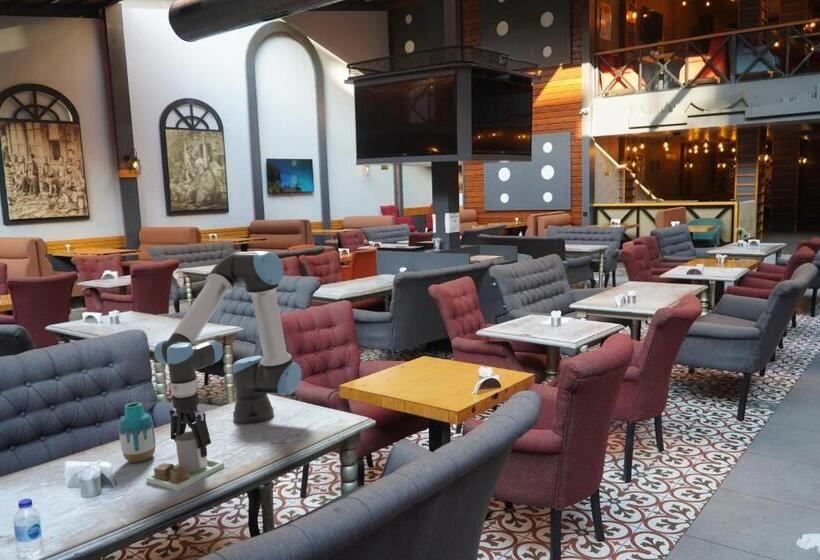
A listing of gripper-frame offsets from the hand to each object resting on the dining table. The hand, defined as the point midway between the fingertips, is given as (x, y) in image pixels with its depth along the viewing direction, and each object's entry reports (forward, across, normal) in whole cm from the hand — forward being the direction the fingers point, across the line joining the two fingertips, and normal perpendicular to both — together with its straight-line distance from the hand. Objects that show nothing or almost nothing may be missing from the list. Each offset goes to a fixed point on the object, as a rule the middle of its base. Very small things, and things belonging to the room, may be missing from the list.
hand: (193, 463), depth 208 cm
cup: (+1, 0, 0) cm, 1 cm away
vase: (+3, -25, -1) cm, 25 cm away
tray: (+3, 0, -3) cm, 4 cm away
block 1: (+2, -4, -8) cm, 9 cm away
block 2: (+2, +4, -8) cm, 9 cm away
